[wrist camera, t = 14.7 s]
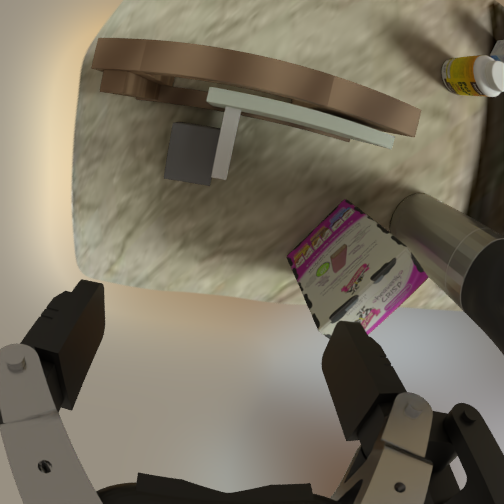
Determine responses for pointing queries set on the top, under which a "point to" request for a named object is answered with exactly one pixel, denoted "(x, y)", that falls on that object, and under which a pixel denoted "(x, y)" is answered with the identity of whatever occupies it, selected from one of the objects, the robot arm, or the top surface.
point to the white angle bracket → (280, 111)
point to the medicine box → (498, 51)
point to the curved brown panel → (242, 82)
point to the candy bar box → (353, 270)
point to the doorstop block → (191, 153)
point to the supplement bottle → (474, 76)
